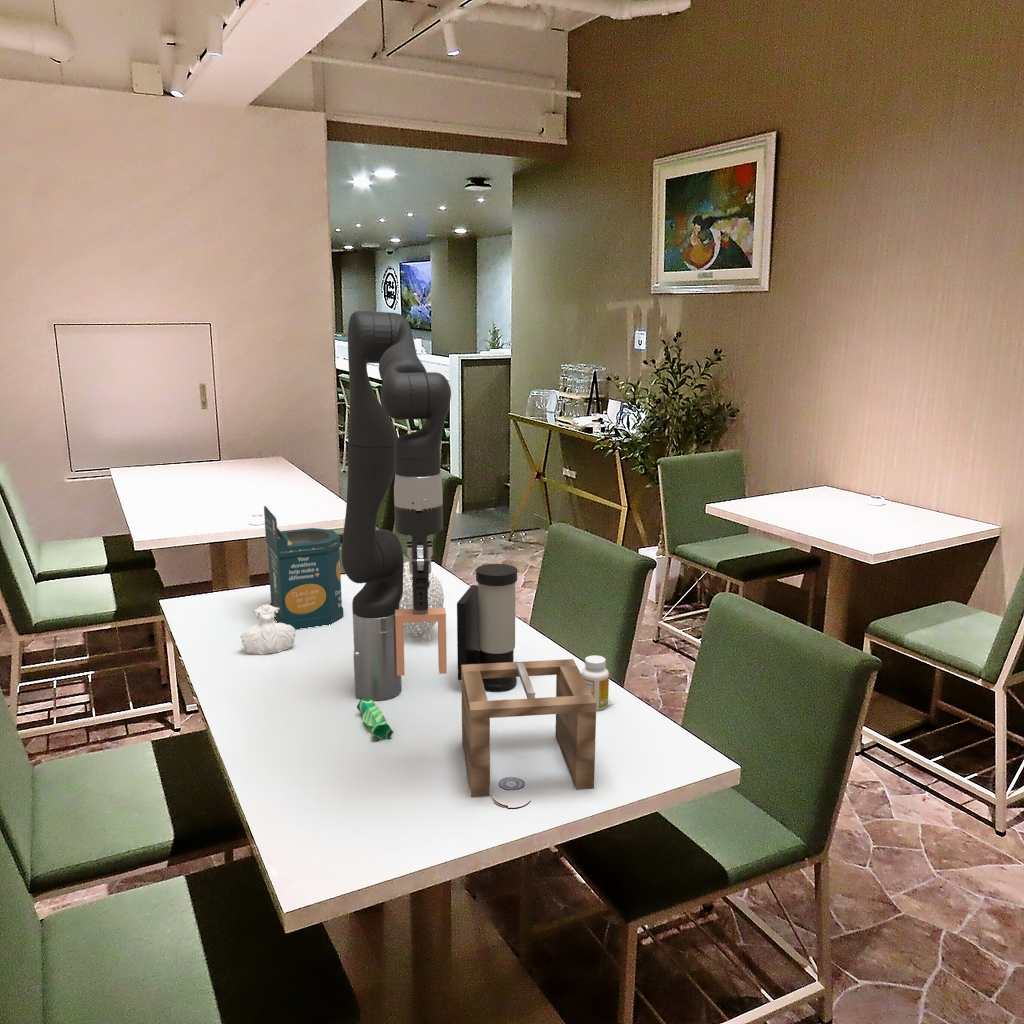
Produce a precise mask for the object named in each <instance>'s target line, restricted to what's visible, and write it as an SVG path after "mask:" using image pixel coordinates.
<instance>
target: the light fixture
mask: <svg viewBox="0 0 1024 1024" xmlns="http://www.w3.org/2000/svg"><path fill="white" fill-rule="evenodd" d="M475 581H476V583H477V585H475V584H472V585H470V586H469V588H468V589H467V590H466V591H465V593H463V595H462V596H461V597H460V598H459V600H458V601H457V602H456V632H457V633H456V634H457V635H456V637H457V638H456V639H457V640H456V641H457V643H456V645H457V648H456V649H457V651H456V652H457V680H458V681H461V665H468V664H488V663H507V662H515V660H514V653H515V652H514V651H515V648H516V582H518V567H516V566H514V565H511V564H506V563H489V564H488V563H487V564H482V565H480V566H478V567H476V568H475ZM517 678H518V677H506V678H487V679H482V680H483V684H484V688H485V692H491V693H501V692H502V693H503V692H509V691H511V690H512V689H515V687H516V686H517V681H518V680H517Z"/></svg>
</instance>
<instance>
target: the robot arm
mask: <svg viewBox="0 0 1024 1024" xmlns="http://www.w3.org/2000/svg"><path fill="white" fill-rule="evenodd" d="M412 332H413V331H412V328H411V325H410V323H409V321H408V319H407V318H406V317H405V316H404V315H403V314H400V313H397V312H387V311H384V312H383V311H366V310H365V311H363V310H358V311H354V312H352V313H351V315H350V316H349V320H348V326H347V356H348V358H347V359H348V377H349V378H348V379H349V380H348V381H349V383H348V385H349V410H348V412H349V413H348V431H347V489H346V490H347V491H346V506H345V507H346V508H345V518H344V523H343V524H344V525H343V533H342V542H341V563H342V567H343V571H344V573H345V575H346V577H348V579H349V580H350V581H352V582H353V583H356V584H364V585H363V587H362V588H361V589H360V590H359V591H358V592H357V593H356V594H355V596H353V598H352V603H351V604H352V609H351V610H352V627H353V628H352V631H353V632H352V633H353V673H354V675H353V676H354V677H353V678H354V698H355V699H365V698H371V699H372V700H373V701H382V700H383V701H385V700H388V699H392V698H394V697H396V696H398V695H399V694H400V693H401V692H402V683H403V682H402V676H397V657H396V622H395V610H399V603H400V602H401V601H400V600H401V598H402V594H403V587H404V585H403V572H404V570H403V569H404V563H405V562H404V560H405V559H404V552H403V546H402V543H401V541H400V539H399V538H398V536H397V535H396V534H395V532H397V533H398V534H399V535H403V536H411V540H406V552H407V553H406V554H407V557H408V562H409V569H408V570H409V572H410V574H412V575H413V577H412V578H411V579H412V580H413V583H412V582H411V585H412V586H413V588H414V609H415V610H416V611H423V610H427V609H428V600H429V599H428V596H429V595H428V588H429V585H430V582H429V574H430V573H432V557H433V541H432V540H431V539H430V540H428V536H430V535H436V534H438V533H439V534H440V533H441V532H442V530H443V529H444V511H443V510H444V509H443V508H444V504H443V502H444V501H443V484H442V483H443V482H442V476H441V445H442V444H441V443H442V436H443V432H444V426H445V423H446V419H447V416H448V413H449V409H450V408H449V407H450V406H451V405H450V404H451V399H452V398H451V397H452V389H451V386H450V382H449V381H448V379H447V378H446V377H445V376H444V374H442V373H440V372H436V371H435V372H433V371H431V372H430V371H429V372H427V369H426V368H425V366H424V364H423V363H422V361H421V359H419V357H418V355H417V349H416V345H415V339H414V336H413V333H412ZM368 364H378V373H379V376H380V378H381V381H382V384H381V391H380V401H379V399H378V397H377V395H376V393H375V391H374V389H373V387H372V383H371V381H370V378H369V374H368V368H367V367H368ZM380 402H381V403H380ZM391 419H394V420H397V421H398V420H399V421H400V420H402V421H403V420H425V423H424V424H423V426H422V427H421V428H420V429H419V430H417V431H415V432H411V433H407V434H404V435H400V436H398V434H397V430H396V428H395V425H394V423H393V422H392V420H391ZM393 479H394V483H393V484H394V485H393V499H394V500H393V501H394V502H393V503H394V504H393V505H394V506H393V507H394V508H393V509H394V530H395V532H392V531H391V530H389V529H377V528H376V527H377V520H378V519H377V518H378V513H379V510H380V508H381V505H382V503H383V500H384V499H385V496H386V494H387V493H388V490H389V488H390V486H391V484H392V482H393ZM376 529H377V530H376ZM402 599H403V598H402Z"/></svg>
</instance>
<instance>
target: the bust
mask: <svg viewBox="0 0 1024 1024" xmlns="http://www.w3.org/2000/svg"><path fill="white" fill-rule="evenodd" d="M279 609H280V608H276V607H273V606H271V605H270V604H266V603H265V604H262V605H260V606H259V607H258V608H256V609H255V610H252V613H253V614H254V615H255V616H257V618H256V620H259V619H260V622H259V624H257V625H252V626H250V627H249V628H247V629H245V630H244V631H242V633H241V635H240V639H241V643H242V646H243V648H244V651H246V653H248V654H255V655H256V654H257V655H260V654H263V655H266V654H275V653H276V652H279V653H281V652H282V651H283V652H284V651H286V650H288V649H291V648H292V647H293V645H294V643H295V638H296V630H295V629H294V628H293V627H292V626H291V625H286V624H284V623H277V622H276V620H275V619H274V617H276V615H275V612H276V613H278V610H279Z"/></svg>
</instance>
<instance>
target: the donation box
mask: <svg viewBox="0 0 1024 1024" xmlns="http://www.w3.org/2000/svg"><path fill="white" fill-rule="evenodd" d="M263 512H264V514H263V515H264V528H265V529H264V532H265V533H264V534H265V543H266V544H267V559H268V572H269V573H268V574H269V576H268V577H269V590H270V591H269V592H270V602H269V605H271V606H273V607H276V608H280V609H279V610H278V613H276V612H275V615H276V617H274V618H275V619H274V618H273V619H274V621H275V622H276V621H277V622H276V623H284V624H286V625H291V626H292V627H293V628H294V629H299V630H301V629H300V628H306V629H309V628H308V627H312V628H316V627H315V626H319V627H323V626H322V625H327V626H332V625H333V624H335V623H337V622H338V621H340V620H341V619H343V618H344V615H345V614H344V608H343V605H342V604H343V603H342V602H343V601H342V580H341V579H342V577H341V556H340V555H341V554H340V553H341V551H340V548H341V547H342V542H341V536H340V535H339V534H338V533H337V532H336V531H334V530H333V529H326V528H325V529H324V528H315V527H308V528H298V529H291V530H290V529H289V530H280V529H279V528H278V521H277V517H276V516H275V515H274V514H273V513H272V512H271V510H270V509H269V508H268V507H267V505H264V506H263ZM342 617H343V618H342ZM337 620H338V621H337ZM334 622H335V623H334ZM332 623H333V624H332ZM329 624H330V625H329ZM331 624H332V625H331Z"/></svg>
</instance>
